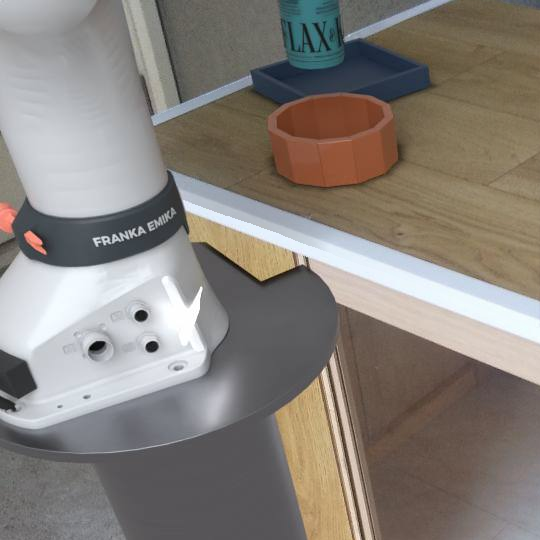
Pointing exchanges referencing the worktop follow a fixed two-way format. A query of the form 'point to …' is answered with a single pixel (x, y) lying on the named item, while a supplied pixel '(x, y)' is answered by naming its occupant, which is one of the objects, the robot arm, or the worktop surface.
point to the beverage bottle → (312, 33)
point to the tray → (345, 75)
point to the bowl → (333, 139)
